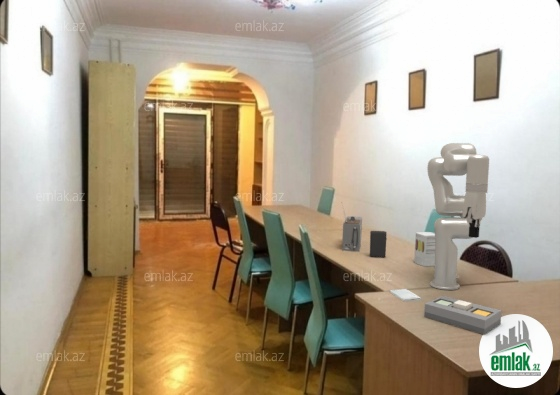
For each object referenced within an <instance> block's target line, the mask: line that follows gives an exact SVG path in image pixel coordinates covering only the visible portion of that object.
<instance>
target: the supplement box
mask: <svg viewBox="0 0 560 395" xmlns="http://www.w3.org/2000/svg"><path fill="white" fill-rule="evenodd" d="M414 242H415V244H414V262H413V263H415V264H416V265H417V264H418V265H420V266H422V267H423V268H425V267H434V265H435V232H432V231H431V232H430V231H423V232H420V231H419V232H417V231H416V232H415V240H414Z"/></svg>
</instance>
